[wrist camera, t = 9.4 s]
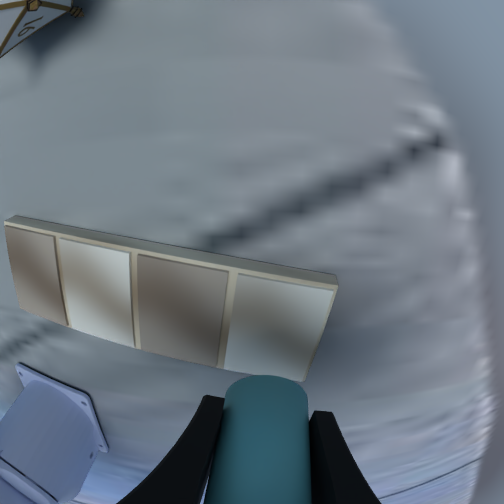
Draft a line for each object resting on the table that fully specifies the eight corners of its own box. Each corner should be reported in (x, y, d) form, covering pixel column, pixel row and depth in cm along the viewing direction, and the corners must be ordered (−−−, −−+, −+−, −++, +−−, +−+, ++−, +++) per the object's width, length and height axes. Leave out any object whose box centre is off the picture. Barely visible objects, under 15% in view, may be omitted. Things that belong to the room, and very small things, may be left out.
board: (303, 369, 16) (304, 384, 15) (29, 301, 17) (19, 310, 16) (335, 274, 14) (339, 288, 13) (14, 215, 14) (1, 222, 13)
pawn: (288, 431, 11) (282, 585, 5) (216, 413, 11) (182, 573, 5) (321, 386, 10) (334, 576, 4) (238, 364, 10) (201, 569, 4)
